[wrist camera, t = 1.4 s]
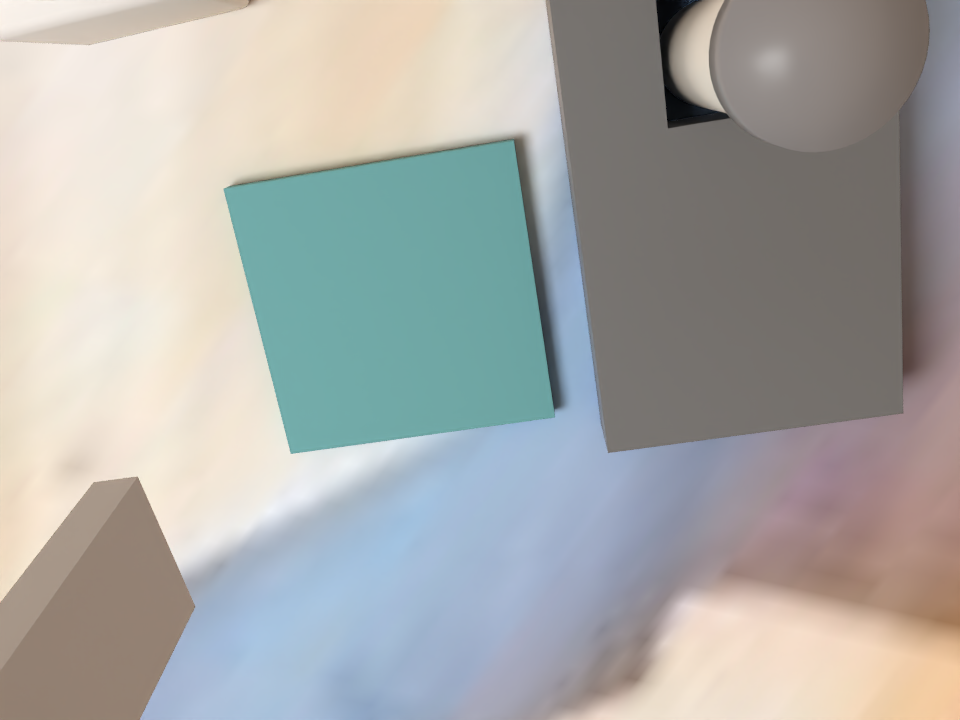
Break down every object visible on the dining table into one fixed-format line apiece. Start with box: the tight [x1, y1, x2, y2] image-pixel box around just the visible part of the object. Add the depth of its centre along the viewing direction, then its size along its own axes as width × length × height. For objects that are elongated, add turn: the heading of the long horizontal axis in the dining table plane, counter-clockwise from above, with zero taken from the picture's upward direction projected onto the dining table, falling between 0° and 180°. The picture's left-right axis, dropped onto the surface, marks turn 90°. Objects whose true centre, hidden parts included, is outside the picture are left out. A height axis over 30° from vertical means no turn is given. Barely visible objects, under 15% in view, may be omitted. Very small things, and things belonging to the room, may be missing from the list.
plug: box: [660, 0, 930, 152], centre depth 28 cm, size 5×5×14 cm
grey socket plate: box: [546, 0, 903, 453], centre depth 34 cm, size 20×12×3 cm, turn 9°
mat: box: [224, 139, 555, 454], centre depth 38 cm, size 12×12×1 cm
